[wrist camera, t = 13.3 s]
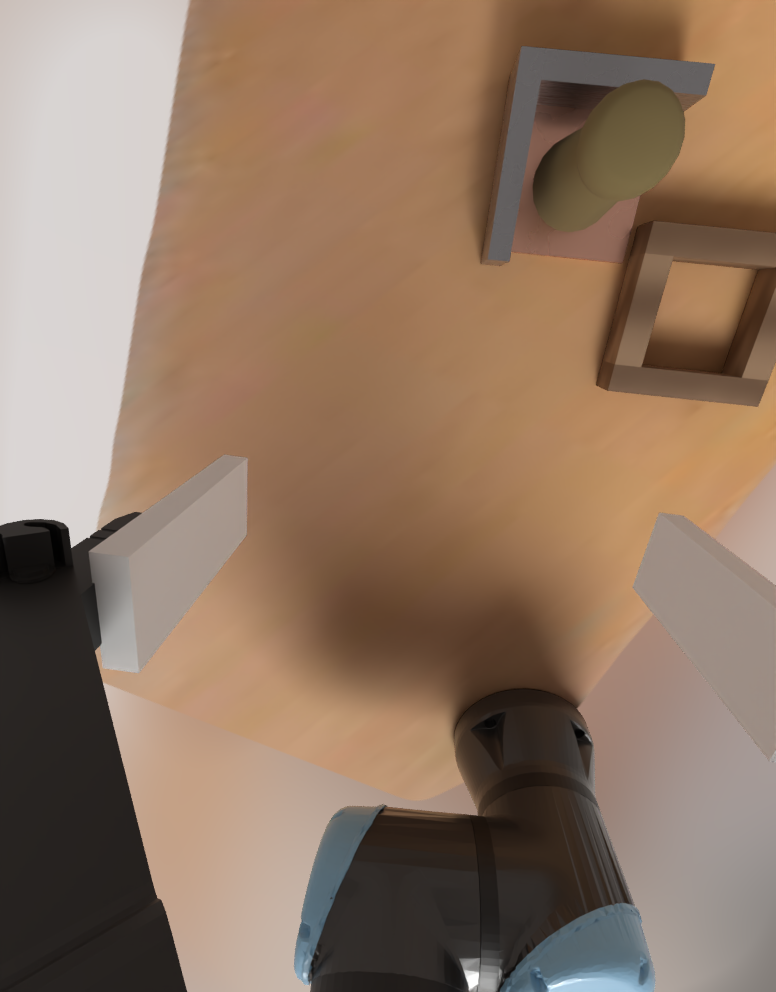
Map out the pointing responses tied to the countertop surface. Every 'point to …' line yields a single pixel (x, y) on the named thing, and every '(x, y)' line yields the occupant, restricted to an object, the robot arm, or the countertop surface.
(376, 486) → the countertop surface
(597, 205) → the olive stamp handle
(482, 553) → the countertop surface
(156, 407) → the countertop surface
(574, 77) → the corner cradle
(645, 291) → the socket block
